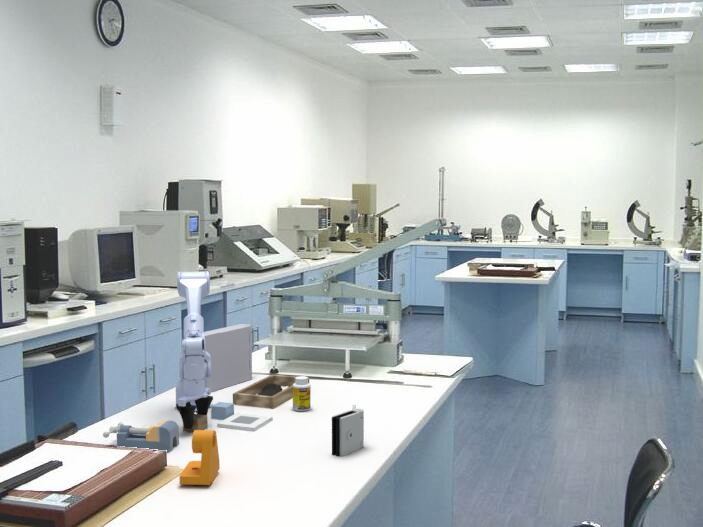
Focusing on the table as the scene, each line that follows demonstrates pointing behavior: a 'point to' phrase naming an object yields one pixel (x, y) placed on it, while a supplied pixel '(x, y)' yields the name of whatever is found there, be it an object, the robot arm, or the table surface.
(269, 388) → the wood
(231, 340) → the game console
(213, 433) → the bracket
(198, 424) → the walnut block
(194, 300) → the robot arm
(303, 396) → the supplement bottle
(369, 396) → the table surface
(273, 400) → the plank frame
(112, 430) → the vise
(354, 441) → the hinge
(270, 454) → the table surface
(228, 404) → the blue block
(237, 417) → the board
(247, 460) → the table surface
